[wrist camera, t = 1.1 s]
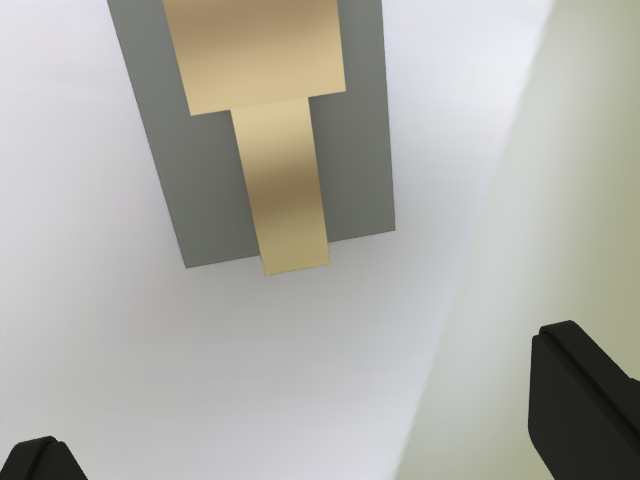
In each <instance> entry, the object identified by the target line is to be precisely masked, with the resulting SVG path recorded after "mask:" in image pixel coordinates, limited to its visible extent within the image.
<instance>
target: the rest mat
mask: <svg viewBox="0 0 640 480" xmlns="http://www.w3.org/2000/svg"><path fill="white" fill-rule="evenodd" d="M107 3H108V6H109V10H110V13H111V16H112V20H113V23H114V26H115V30H116V33H117V37H118V40H119V43H120V47H121V50H122V54H123V57H124V60H125V64H126V67H127V71H128V74H129V77H130V81H131V84H132V87H133V91H134V94H135V98H136V101H137V104H138V108H139V111H140V115H141V118H142V121H143V125H144V128H145V132H146V135H147V138H148V142H149V145H150V149H151V152H152V155H153V159H154V162H155V165H156V169H157V172H158V176H159V179H160V182H161V186H162V189H163V193H164V196H165V199H166V203H167V206H168V210H169V213H170V216H171V220H172V223H173V226H174V230H175V233H176V237H177V240H178V243H179V247H180V250H181V254H182V257H183V260H184V264H185V267H186V268H191V267H197V266H202V265H208V264H213V263H219V262H224V261H230V260H235V259H241V258H246V257H252V256H257V255H261V253H260V249H259V244H258V239H257V234H256V230H255V225H254V220H253V215H252V210H251V206H250V201H249V196H248V191H247V187H246V182H245V177H244V172H243V167H242V163H241V158H240V153H239V148H238V144H237V139H236V134H235V129H234V124H233V120H232V115H231V110H224V111H218V112H211V113H205V114H199V115H193V116H191V114H190V110H189V106H188V102H187V98H186V94H185V90H184V86H183V82H182V78H181V74H180V69H179V65H178V61H177V57H176V53H175V49H174V45H173V41H172V37H171V33H170V29H169V25H168V21H167V17H166V13H165V9H164V5H163V1H162V0H107ZM337 7H338V17H339V27H340V37H341V47H342V57H343V67H344V77H345V87H346V91H343V92H337V93H331V94H324V95H318V96H312V97H308V102H309V110H310V117H311V124H312V132H313V139H314V147H315V154H316V161H317V169H318V176H319V184H320V191H321V198H322V206H323V213H324V221H325V228H326V235H327V243H329V242H334V241H340V240H345V239H351V238H356V237H362V236H367V235H373V234H378V233H384V232H389V231H395V214H394V198H393V182H392V165H391V149H390V133H389V116H388V100H387V84H386V67H385V51H384V35H383V18H382V2H381V0H337Z"/></svg>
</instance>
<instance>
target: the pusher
mask: <svg viewBox="0 0 640 480" xmlns="http://www.w3.org/2000/svg"><path fill="white" fill-rule="evenodd" d="M162 1H163V5H164V9H165V13H166V17H167V21H168V25H169V29H170V33H171V37H172V41H173V45H174V49H175V53H176V57H177V61H178V65H179V69H180V74H181V78H182V82H183V86H184V90H185V94H186V98H187V102H188V106H189V110H190V114H191V116H193V115H199V114H205V113H211V112H218V111H224V110H231V115H232V120H233V124H234V129H235V134H236V139H237V144H238V148H239V153H240V158H241V163H242V167H243V172H244V177H245V182H246V187H247V191H248V196H249V201H250V206H251V210H252V215H253V220H254V225H255V230H256V234H257V239H258V244H259V249H260V253H261V258H262V263H263V268H264V273H265V276H268V275H273V274H279V273H284V272H289V271H295V270H300V269H306V268H311V267H316V266H322V265H327V264H330V258H329V250H328V243H327V235H326V228H325V221H324V213H323V206H322V198H321V191H320V184H319V176H318V169H317V161H316V154H315V147H314V139H313V132H312V124H311V117H310V110H309V102H308V97H312V96H318V95H324V94H331V93H337V92H343V91H346V87H345V77H344V67H343V57H342V47H341V37H340V27H339V17H338V7H337V0H162Z"/></svg>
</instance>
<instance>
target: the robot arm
mask: <svg viewBox="0 0 640 480" xmlns="http://www.w3.org/2000/svg"><path fill="white" fill-rule="evenodd" d="M531 352H532V353H531V372H530V392H529V393H530V394H529V413H528V431H529V435H530V438H531V441H532V443H533V445H534V447H535V448H536V450H537V452H538V453H539V455H540V457H541V458H542V460H543V461H544V463H545V465H546V466H547V468H548V469H549V471H550V473H551V474H552V476H553V477H554V479H555V480H640V381H638V380H635V379H633V378H629V377H628V376H627V375H626V374H625V373H624V372H623V371H622V370H621V369H620V367H619V366H618V365H617V364H616V363H615V362H614V361H613V360H611V358H610V357H609V356H608V355H607V354H606V353H605V352H604V351H603V350H602V349H601V348H600V347H599V346H598V345H597V344H596V343H595V342H594V341H593V340H592V339H591V338H590V337H589V336H588V335H587V334H586V333H585V332H584V331H583V329H582V328H581V327H579V325H577V324H576V323H575V322H574V321H571V320H568V321H564V322H559V323H555V324H551V325H546V326H542V327H541V328H540V330H539V335H535V336H533V338H532V351H531ZM0 480H88V479H87V477H86V476H85V474H84V473H83V471H82V469H81V468H80V466H79V464H78V463H77V461H76V460H75V458H74V456H73V455H72V453H71V452H70V450H69V448H68V447H67V445H66V444H65V443H64V442H62V441H60V442H58V441H57V440H56V439H55V438H54V437H52V436H47V437H42V438H38V439H33V440H29V441H24V442H20V443H18V444H17V445H15V446H14V448H13V449H12V451H11V452H10V454H9V456H8V458H7V460H6V462H5V464H4V466H3V468H2V470H1V472H0Z"/></svg>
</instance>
